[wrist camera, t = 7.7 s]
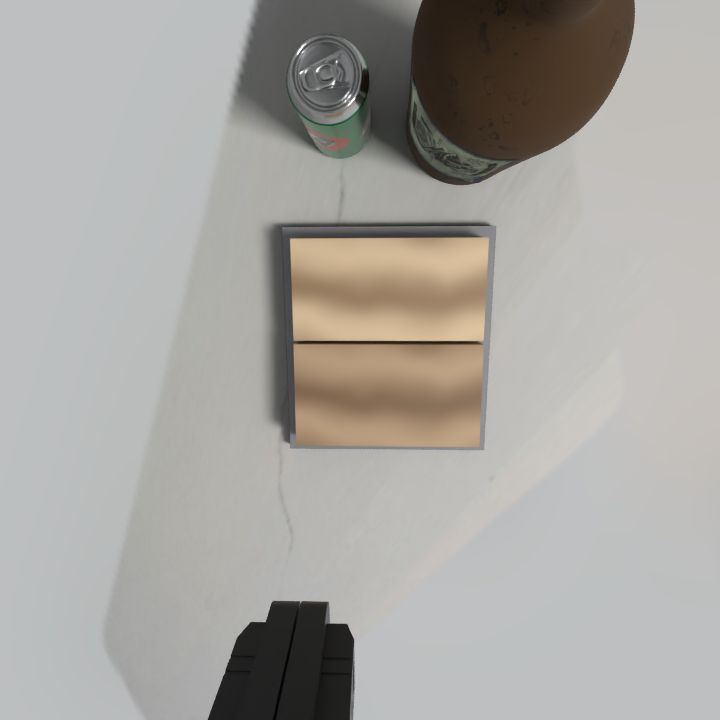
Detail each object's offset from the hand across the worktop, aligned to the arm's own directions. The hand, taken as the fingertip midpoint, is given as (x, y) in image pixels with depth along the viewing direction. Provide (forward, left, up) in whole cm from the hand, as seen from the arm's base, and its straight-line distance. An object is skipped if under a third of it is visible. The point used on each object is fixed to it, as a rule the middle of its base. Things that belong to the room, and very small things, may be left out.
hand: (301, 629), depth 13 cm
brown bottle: (-20, +9, -32) cm, 39 cm away
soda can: (-20, -1, -32) cm, 38 cm away
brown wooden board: (+2, +3, -31) cm, 31 cm away
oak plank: (-7, +3, -32) cm, 33 cm away
